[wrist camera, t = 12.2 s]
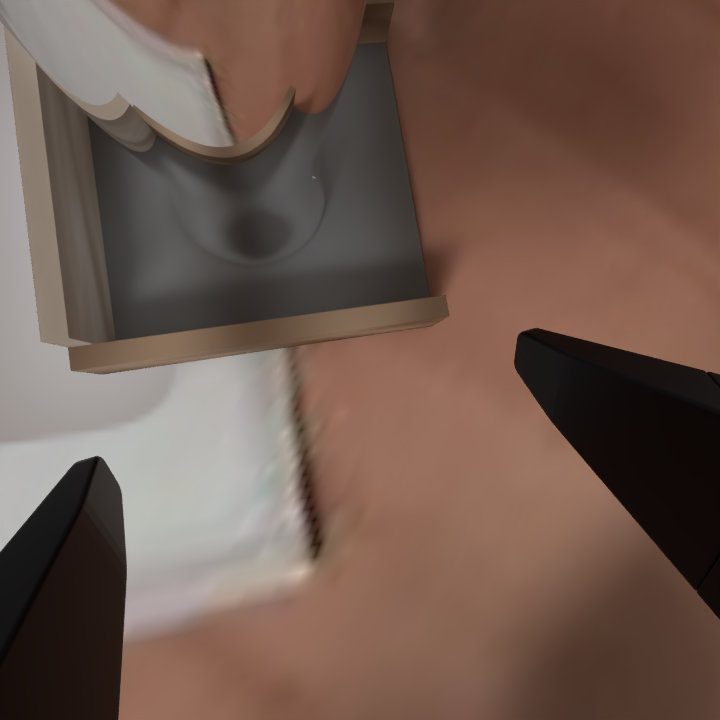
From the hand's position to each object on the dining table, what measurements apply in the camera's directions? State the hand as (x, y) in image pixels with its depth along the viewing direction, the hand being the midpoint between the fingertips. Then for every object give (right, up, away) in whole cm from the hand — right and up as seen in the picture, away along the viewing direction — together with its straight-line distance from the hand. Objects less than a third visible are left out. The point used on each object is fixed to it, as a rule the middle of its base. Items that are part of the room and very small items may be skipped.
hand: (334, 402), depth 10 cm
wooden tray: (-4, +8, +9) cm, 13 cm away
